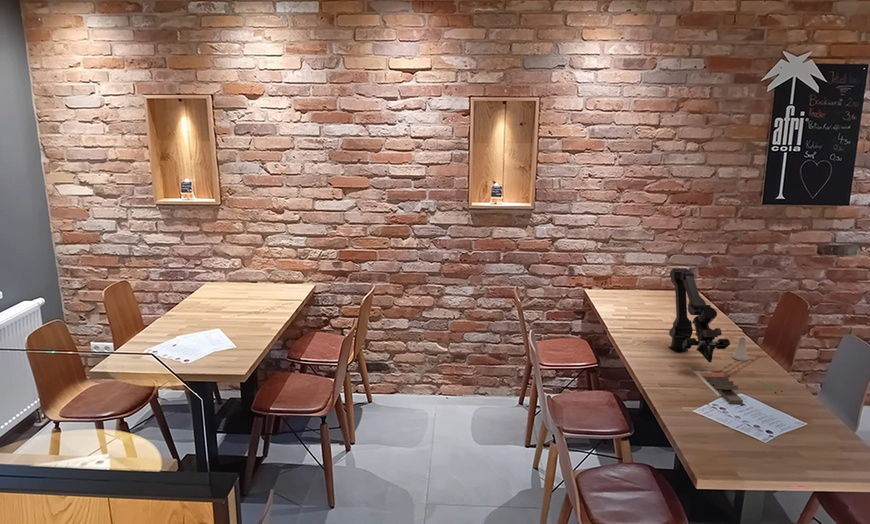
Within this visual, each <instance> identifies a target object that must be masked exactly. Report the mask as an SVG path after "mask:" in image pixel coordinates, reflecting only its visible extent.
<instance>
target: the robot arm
mask: <svg viewBox="0 0 870 524" xmlns="http://www.w3.org/2000/svg"><path fill="white" fill-rule="evenodd" d="M669 277H670V281H671V282H670V283H672V285H673V286H674V289H675V291H674V292H675V310H676V311H675V314H676V315H675V320H674V321H673V323H672V327H671V329H670V330H669V331H668V333H669V334H668V335H669V337H670V338H671V344H670V345H671V346H668V348H669V349H670V350H672V351H675V352H676V353H681V352H688V351H689V350H690V349H691V348H692V346H696V351H697V352H699V353H700V354H701V355H702V356H703V357H704V358H705V359H706V361H707V362H708V363H712V362H713V356H714V351H715V349H717V350H726V349H727V348H729V346H730V345H731V341H730V339H728V338H718V337H719V336H720V337H721V336H722V335H723V334H722V333H723V332H722V330H721V327H716V328H714V329H712V328H711V327H710V324H711V323H712V322H713V321H714V320H715V318H716V317H717V316H718V312H717V311H716V309H715V308H714V307H712V305H711V304H707V303H706V301H705V299H704V298H702V297H701V296H700V293H699V289H698V287H697V284H696V280H695V274H694V272H693V271H692V270H688V268H686V267H684V268H683V267H682V268H680V267H679V268H678V267H677V268H676V267H673V268H672V269H671V270H670V272H669ZM687 299H688V301H687ZM687 302H688V304H687ZM688 314H689V315H691V316H694V318H693V319H691V320H690V319H689V317H688ZM693 324H694V328H693ZM694 329H695V332H694V336H695V337H697V339H696V338H695V337H692V335H693V331H694ZM716 338H718V340H716V341H714V340H715V339H716Z"/></svg>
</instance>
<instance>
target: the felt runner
mask: <svg viewBox="0 0 870 524" xmlns="http://www.w3.org/2000/svg"><path fill="white" fill-rule="evenodd" d="M693 373H694V374H695V375H696V376H697V377H698V378H699V379H701V381H702V382H703V383H705V385H707V387H708V388H709V389H711V390H712V392H713V393H714V394H715V395H716V396H718V397H722V396H721V395H720V394H719V393H718V392H719V389H714V385H711V384H710V381H709V380H706V377H705V376H702V373H714V372H713V371H710V370H709V371H708V370H707V371H704V370H703V371H698V370H697V371H695V370H694V371H693Z"/></svg>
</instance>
